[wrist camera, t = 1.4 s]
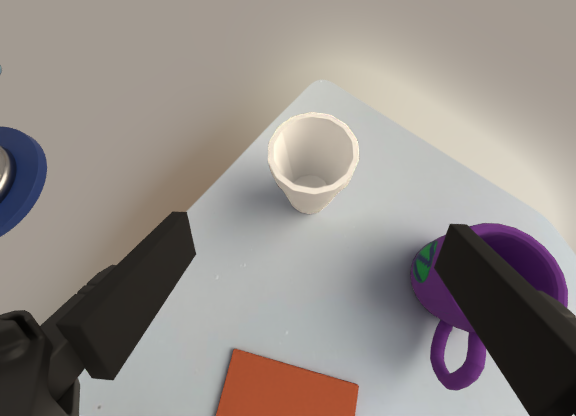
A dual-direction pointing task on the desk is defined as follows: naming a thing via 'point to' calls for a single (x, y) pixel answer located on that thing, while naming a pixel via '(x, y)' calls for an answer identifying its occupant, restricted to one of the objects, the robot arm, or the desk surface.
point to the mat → (282, 390)
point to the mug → (439, 302)
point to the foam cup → (312, 159)
